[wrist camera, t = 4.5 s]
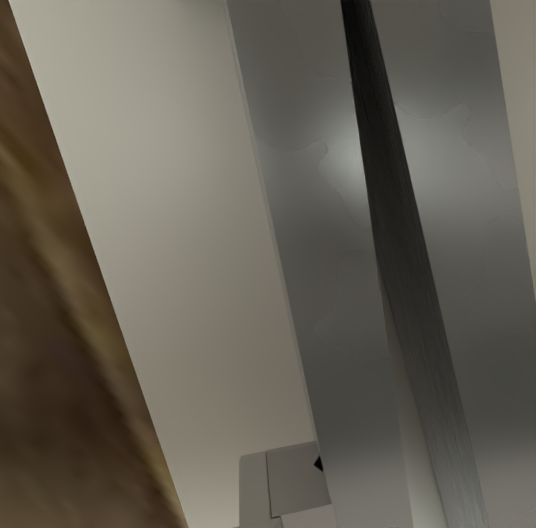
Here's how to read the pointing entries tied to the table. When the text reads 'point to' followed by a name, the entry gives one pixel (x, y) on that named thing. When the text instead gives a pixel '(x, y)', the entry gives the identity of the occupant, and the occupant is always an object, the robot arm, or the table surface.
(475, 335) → the tongs arm
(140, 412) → the table surface
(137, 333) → the cutting board
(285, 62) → the tongs
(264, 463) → the robot arm
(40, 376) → the table surface
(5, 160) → the table surface
